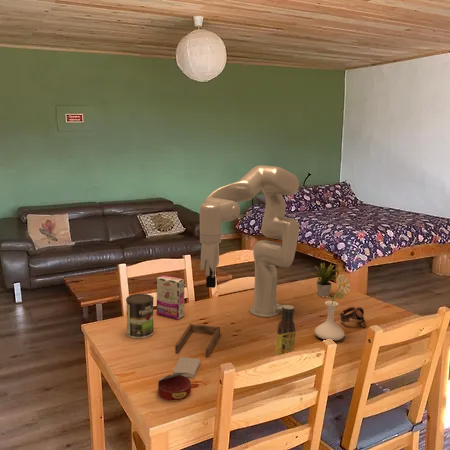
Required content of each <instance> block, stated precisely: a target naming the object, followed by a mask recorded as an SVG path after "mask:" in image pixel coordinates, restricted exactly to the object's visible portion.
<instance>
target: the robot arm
mask: <svg viewBox="0 0 450 450" xmlns="http://www.w3.org/2000/svg"><path fill="white" fill-rule="evenodd" d="M299 188H300V182H299V179H298V177H297V176H296V175H295V174H294V173H292V172H290V171H289V170H286V169H284V168H282V167H280V166H275V165H274V166H273V165H264V164H263V165H262V164H261V165H260V164H259V165H256V166H254V167H253V168H251V169H250V170H249V171H248V172H247V173H246V174H245V175H243V176H242V177H241V178H239V180H237V181H235V182H232V183H229V184H227V185H224V186H221V187H219V188H217V189H215V190H214V191H212V192H211V193H210V194H209V195H207V197H206V198H205V199H204V200H203V202H202V203H201V204H200V206H199V243H200V244H201V247H200V271H201V272H202V271H204V270H205V282H206V283H205V284H206V285H205V286H206V288H212V289H213V288H216V286H217V281H216V280H217V278H216V272H217V267H218V266H219V264H220V244H221V243H222V223H223V222H224V223H226V222H232V221H235V220H236V219H237V218H238V217H239V216H240V213H241V206H240V205H239V204H238V203H241V202H247V201H250V200H253V199H254V197H255V196H257V195H258V193H260V192H261V191H262V193H263V195H264V198H265V199H264V200H265V209H264V214H263V219H262V225H261V234H262V235H263V236H265V237H266V238H271V239H275V240H281V241H282V242H277V241H273V240H266V239H261V240H258V241H257V242H256V243H255V244H254V246H253V250H252V251H253V260H254V290H253V291H254V294H253V305H251V306H250V308H249V311H250V313H251V314H252V315H254V316H257V317H262V318H272V317H275V316H277V315H279V313H280V311H282V306H283V305H284V304H279V303H278V300H277V287H278V286H277V285H278V270H277V268H276V266H277V267H280V268H281V267H282V268H288V267H290V266H291V265H293V262H294V260H295V255H296V250H297V245H298V239H299V234H300V225H299V223H298V221H297V220H296V219H294V218H292V217H286V216H285V214H286V208H287V204H286V203H287V202H286V200H285V199H284V197H283V196H293V195H295V194H297V192H298V190H299Z"/></svg>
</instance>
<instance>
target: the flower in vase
mask: <svg viewBox="0 0 450 450" xmlns="http://www.w3.org/2000/svg"><path fill="white" fill-rule="evenodd" d="M335 281H336V286H337V289H336V292H335V295H334V297H332V296H330V295H329V296H328V297H327V298H328V299H329V300H326V301H325V302H324V304H325V305H326V309H327V319H326V321H325V322H323V323H321V324H319V325H317V326H316V328H315V329H314V334H315V336H317V337H318V338H320V339H323V340H325V339H332V340H334V341H339V340H342V339H344V337H345V335H346V334H345V330H343V329H342V327H340V326H339V325H338V324H337V323H335V320H334V319H335V318H334V316H335V310H336V308H337V307H338V306H339V303H338V302H337V301H335V299H336V297H337V298H338V299H340V300H341V299H343V298H344V295H348V293H350V291H351V283H350V282H349V278H347V277H346V275H345V274H343V273H342V274H338V276H337V278H336V280H335Z"/></svg>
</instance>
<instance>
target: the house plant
mask: <svg viewBox="0 0 450 450" xmlns="http://www.w3.org/2000/svg"><path fill="white" fill-rule="evenodd" d="M325 265H326V263H325V262H323V263H322V262H320V269H319V268H318V266H317V265H314V267H315V270H316V271H317V273H318V274H316V272H314V273H312V275H314V276H316V277H317V282H316V288H317V289H316V290H317V291H316V292H317V296H318V295H319V296H318V297H320V296H324V297H323V298H327V297H326V296H330V293H331V288H332V285H333V284H332V282H330V281H331V280H332V281H333V282H335V281H336V280H335V279H337V278H338V275H339V274H338V275H337V274H336V275H334V274H333V273H339V272H340V269H338V268H336V269H333V268H334V267H335V266H336V265H335V264H333V265H332V262H331V263H330V264H329V266H328V267H327V268H326V266H325Z"/></svg>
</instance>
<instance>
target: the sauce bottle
mask: <svg viewBox="0 0 450 450" xmlns="http://www.w3.org/2000/svg"><path fill="white" fill-rule="evenodd" d="M282 305H283V306H282V310H281V311H282V313H281V314H282V315H281V319H280V320H279V321H278V324H277V331H276V340H275V349H274V350H275V352H274V355H275V356H276V355H281V354H284V353H288V352H292V351H294V352H295V342H296V341H295V340H296V326H295V323H294V313H295V307H294V306H293V305H290V304H282Z"/></svg>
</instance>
